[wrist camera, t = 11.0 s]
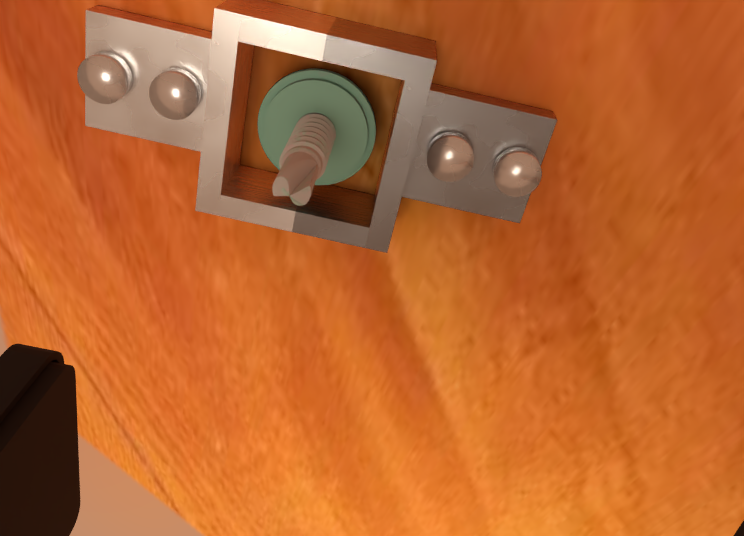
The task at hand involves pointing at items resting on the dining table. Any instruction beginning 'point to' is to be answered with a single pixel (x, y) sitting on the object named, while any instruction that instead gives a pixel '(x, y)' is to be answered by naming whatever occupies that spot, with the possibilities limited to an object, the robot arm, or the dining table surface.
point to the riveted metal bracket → (329, 44)
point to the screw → (315, 131)
